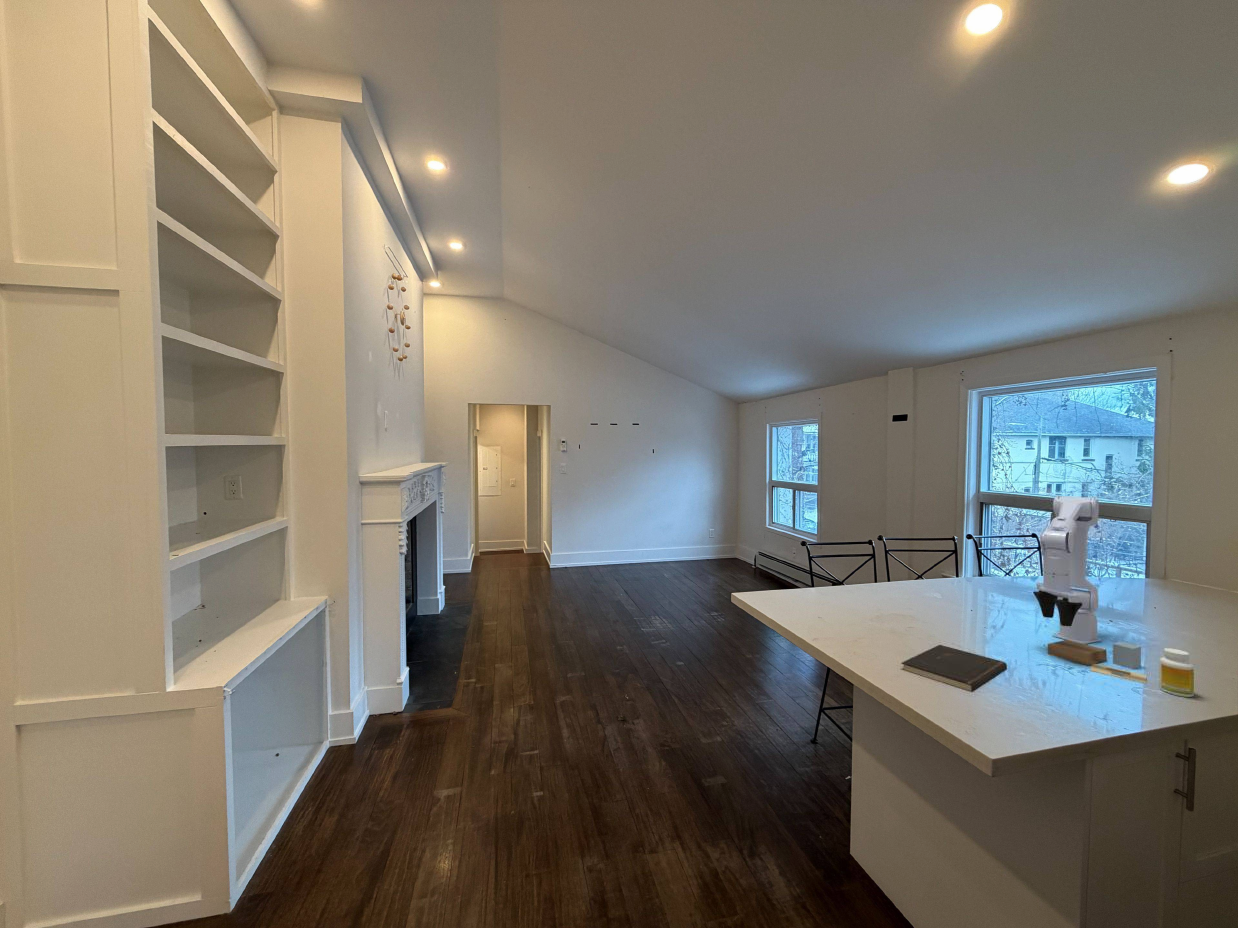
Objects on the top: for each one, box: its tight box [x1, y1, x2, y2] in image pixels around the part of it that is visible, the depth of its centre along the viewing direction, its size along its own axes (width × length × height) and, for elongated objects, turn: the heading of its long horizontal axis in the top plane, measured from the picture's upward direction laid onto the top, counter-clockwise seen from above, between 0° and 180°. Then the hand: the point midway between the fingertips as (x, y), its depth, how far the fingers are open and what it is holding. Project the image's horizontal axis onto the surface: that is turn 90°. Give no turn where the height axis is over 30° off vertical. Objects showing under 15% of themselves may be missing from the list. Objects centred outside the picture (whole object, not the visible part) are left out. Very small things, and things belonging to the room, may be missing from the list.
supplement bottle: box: [1159, 647, 1195, 698], centre depth 116 cm, size 5×5×10 cm
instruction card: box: [1089, 663, 1148, 685], centre depth 127 cm, size 7×10×1 cm
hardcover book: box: [901, 644, 1008, 693], centre depth 129 cm, size 16×23×2 cm
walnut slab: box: [1047, 639, 1108, 666], centre depth 137 cm, size 9×9×3 cm
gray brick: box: [1112, 641, 1142, 670], centre depth 132 cm, size 4×4×6 cm
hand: (1056, 621), depth 138 cm, fingers open, 7 cm apart
